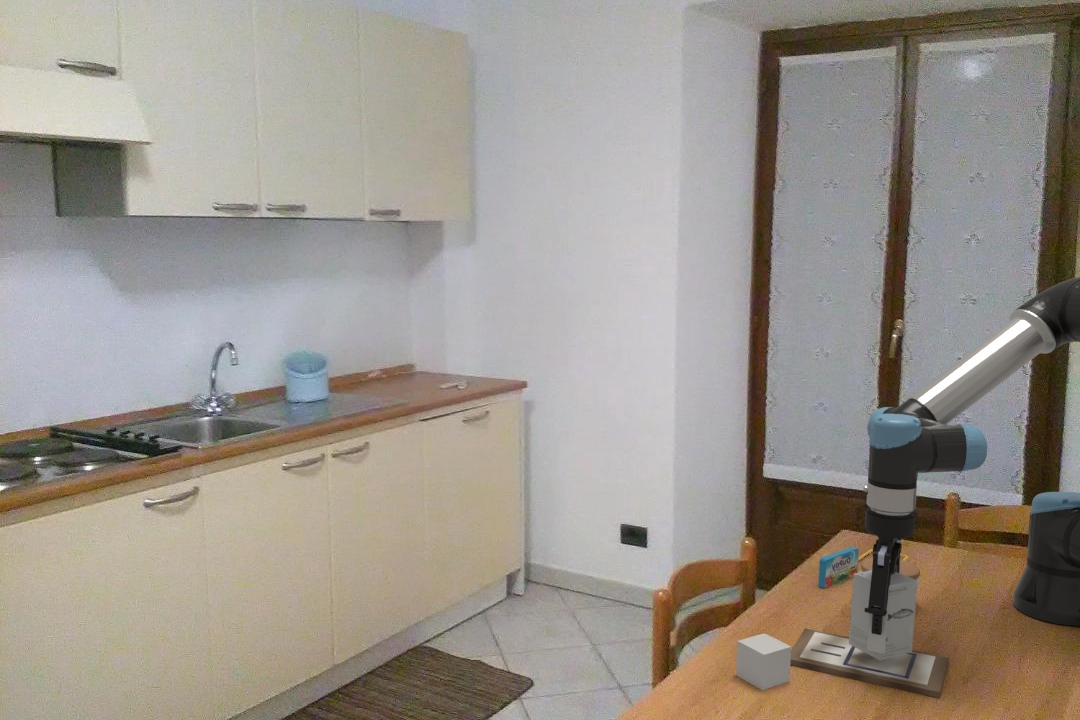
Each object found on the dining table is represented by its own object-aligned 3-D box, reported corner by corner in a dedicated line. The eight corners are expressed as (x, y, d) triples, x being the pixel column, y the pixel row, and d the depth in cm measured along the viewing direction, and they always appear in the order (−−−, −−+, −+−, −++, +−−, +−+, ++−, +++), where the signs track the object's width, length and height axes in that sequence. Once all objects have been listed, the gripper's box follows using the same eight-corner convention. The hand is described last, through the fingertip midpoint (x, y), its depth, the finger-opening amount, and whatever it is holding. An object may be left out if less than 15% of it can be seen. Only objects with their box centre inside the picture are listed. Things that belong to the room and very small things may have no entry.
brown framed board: (948, 663, 163) (949, 655, 163) (939, 698, 151) (940, 690, 151) (804, 633, 174) (805, 626, 174) (785, 663, 162) (785, 656, 162)
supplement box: (881, 662, 156) (886, 587, 154) (847, 644, 163) (851, 572, 161) (913, 653, 160) (919, 580, 158) (879, 636, 166) (883, 565, 164)
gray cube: (735, 675, 158) (737, 640, 157) (762, 667, 161) (764, 633, 160) (762, 690, 153) (764, 654, 152) (789, 682, 156) (791, 646, 155)
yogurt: (824, 589, 196) (826, 560, 195) (818, 587, 197) (819, 558, 196) (857, 576, 204) (858, 548, 203) (850, 574, 205) (852, 546, 204)
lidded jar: (908, 595, 193) (911, 550, 192) (924, 616, 183) (927, 569, 181) (853, 592, 194) (856, 547, 193) (866, 613, 184) (869, 566, 182)
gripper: (877, 490, 169) (869, 611, 172) (853, 523, 150) (844, 660, 153) (923, 496, 166) (914, 620, 169) (904, 531, 146) (894, 671, 149)
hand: (881, 639), depth 161 cm, fingers closed on supplement box, 10 cm apart
